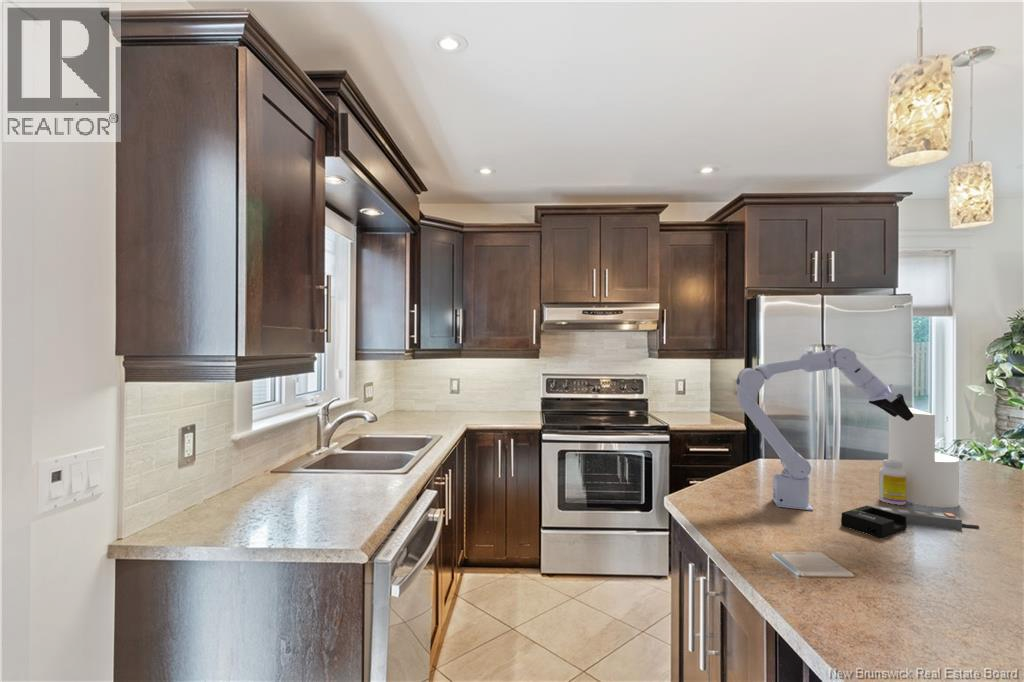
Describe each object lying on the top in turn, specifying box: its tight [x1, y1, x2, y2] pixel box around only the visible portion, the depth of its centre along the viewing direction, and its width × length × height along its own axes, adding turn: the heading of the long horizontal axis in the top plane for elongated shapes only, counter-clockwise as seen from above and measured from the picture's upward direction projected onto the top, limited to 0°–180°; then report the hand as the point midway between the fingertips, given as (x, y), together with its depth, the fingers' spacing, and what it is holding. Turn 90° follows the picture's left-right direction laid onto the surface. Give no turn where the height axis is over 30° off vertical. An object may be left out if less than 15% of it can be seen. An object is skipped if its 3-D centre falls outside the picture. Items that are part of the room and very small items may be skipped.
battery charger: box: [840, 505, 908, 540], centre depth 127 cm, size 13×10×4 cm
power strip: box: [865, 504, 980, 530], centre depth 131 cm, size 25×5×3 cm, turn 72°
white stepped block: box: [887, 407, 960, 508], centre depth 152 cm, size 17×17×28 cm
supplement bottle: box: [878, 458, 907, 506], centre depth 148 cm, size 7×7×13 cm
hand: (903, 416), depth 135 cm, fingers open, 7 cm apart
